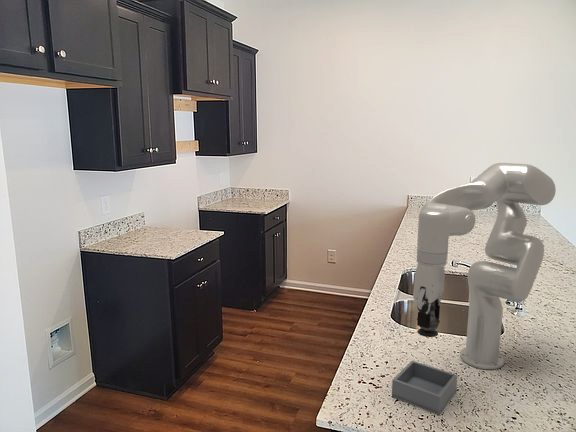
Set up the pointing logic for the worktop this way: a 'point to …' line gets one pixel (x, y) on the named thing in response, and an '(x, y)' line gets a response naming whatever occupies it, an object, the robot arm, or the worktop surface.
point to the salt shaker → (433, 323)
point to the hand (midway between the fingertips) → (428, 321)
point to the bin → (424, 386)
